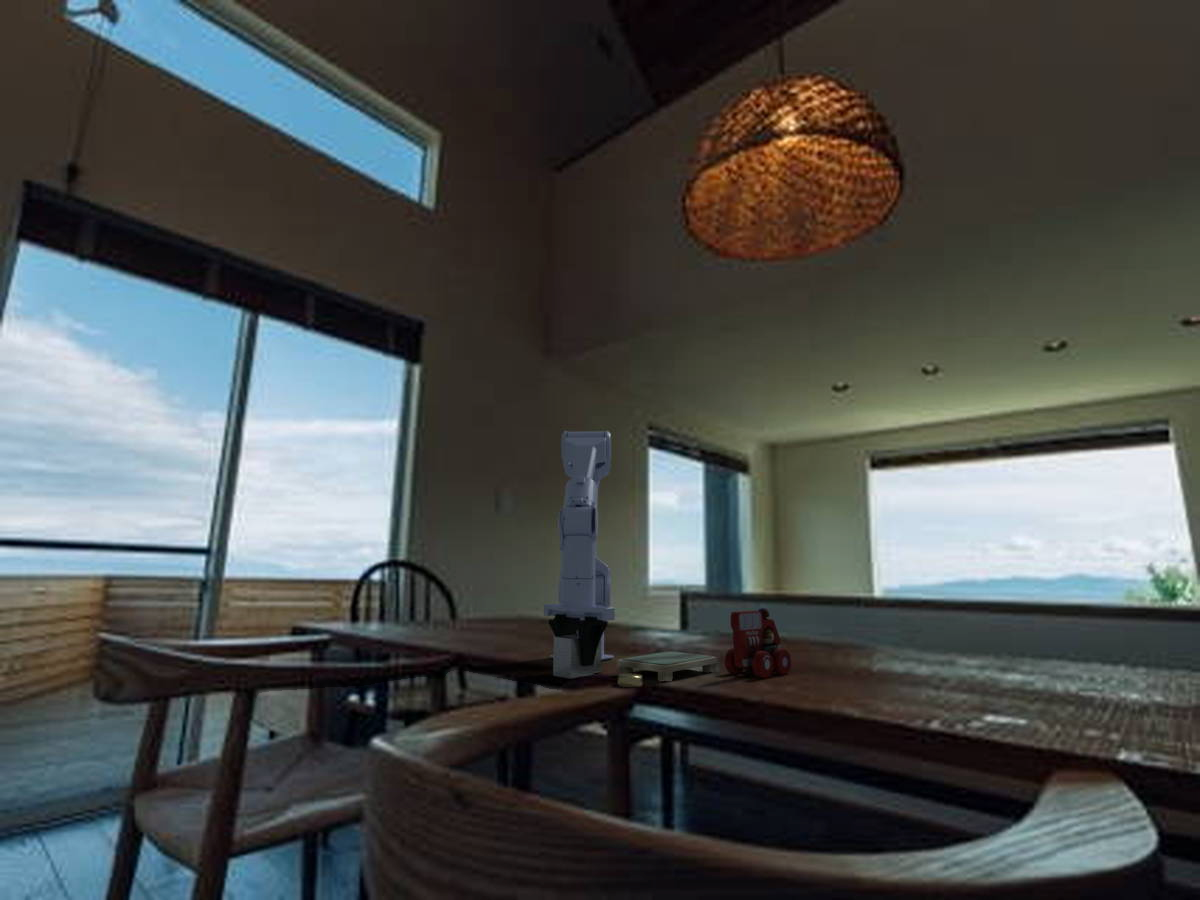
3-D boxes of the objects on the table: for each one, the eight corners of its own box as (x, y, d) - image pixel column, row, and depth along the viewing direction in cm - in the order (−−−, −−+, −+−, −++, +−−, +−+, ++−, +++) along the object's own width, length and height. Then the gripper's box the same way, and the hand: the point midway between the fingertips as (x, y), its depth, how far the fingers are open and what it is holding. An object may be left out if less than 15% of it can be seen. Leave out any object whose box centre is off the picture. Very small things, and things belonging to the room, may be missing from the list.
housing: (553, 675, 104) (553, 634, 105) (583, 670, 109) (583, 631, 110) (570, 678, 101) (571, 636, 102) (601, 673, 106) (601, 633, 107)
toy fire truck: (798, 672, 108) (795, 608, 109) (755, 681, 99) (752, 611, 101) (762, 667, 113) (760, 606, 114) (718, 675, 104) (716, 609, 106)
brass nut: (612, 686, 96) (612, 675, 96) (628, 683, 99) (628, 672, 99) (631, 689, 94) (631, 678, 94) (647, 686, 96) (647, 675, 97)
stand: (616, 674, 105) (616, 658, 105) (669, 665, 115) (669, 650, 115) (666, 682, 98) (666, 665, 98) (717, 671, 108) (717, 655, 108)
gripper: (531, 578, 110) (529, 662, 107) (593, 579, 100) (592, 671, 98) (561, 577, 115) (560, 657, 112) (623, 579, 105) (623, 666, 103)
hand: (577, 664), depth 105 cm, fingers closed on housing, 4 cm apart
